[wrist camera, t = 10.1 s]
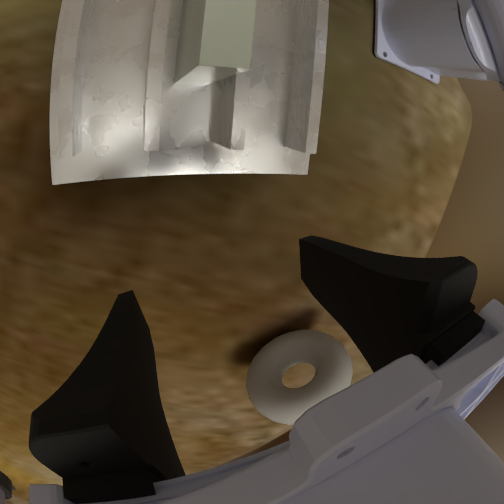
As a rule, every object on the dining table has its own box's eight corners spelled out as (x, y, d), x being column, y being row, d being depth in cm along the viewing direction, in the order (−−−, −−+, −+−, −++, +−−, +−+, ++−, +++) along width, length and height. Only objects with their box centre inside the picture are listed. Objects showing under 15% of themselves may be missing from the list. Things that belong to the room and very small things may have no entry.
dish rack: (317, -48, 15) (346, -64, 11) (300, 171, 23) (329, 184, 20) (88, -73, 8) (83, -99, 5) (56, 181, 17) (39, 197, 14)
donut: (314, 305, 30) (374, 372, 22) (320, 326, 32) (374, 390, 24) (226, 355, 29) (265, 437, 21) (239, 373, 31) (277, 449, 22)
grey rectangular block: (216, -21, 14) (264, -77, 7) (205, 85, 17) (249, 69, 10) (186, -24, 13) (220, -86, 6) (174, 84, 16) (199, 64, 10)
